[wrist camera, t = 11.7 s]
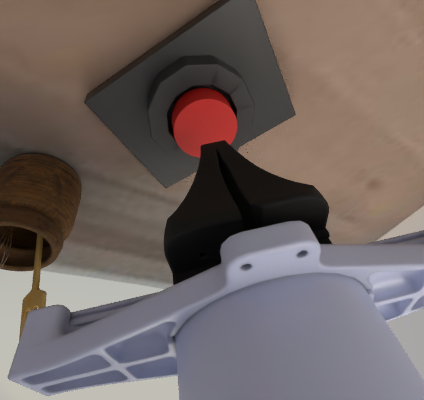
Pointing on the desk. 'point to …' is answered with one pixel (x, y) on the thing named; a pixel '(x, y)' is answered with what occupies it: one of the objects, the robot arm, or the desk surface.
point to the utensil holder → (35, 217)
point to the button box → (195, 86)
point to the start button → (202, 120)
